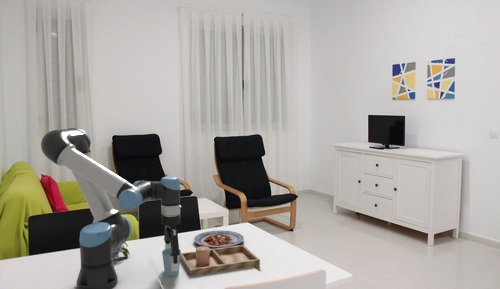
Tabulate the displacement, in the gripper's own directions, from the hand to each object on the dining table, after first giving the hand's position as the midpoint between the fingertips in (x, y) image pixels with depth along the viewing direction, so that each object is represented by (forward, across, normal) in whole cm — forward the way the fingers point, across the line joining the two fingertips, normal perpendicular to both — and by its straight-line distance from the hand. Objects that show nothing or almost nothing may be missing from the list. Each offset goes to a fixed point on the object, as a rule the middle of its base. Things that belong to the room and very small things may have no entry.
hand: (171, 264), depth 169 cm
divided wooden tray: (+5, +4, -22) cm, 23 cm away
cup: (+5, 0, 0) cm, 5 cm away
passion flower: (+5, +29, +21) cm, 36 cm away
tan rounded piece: (+4, +4, -14) cm, 16 cm away
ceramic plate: (+5, +33, -31) cm, 46 cm away
